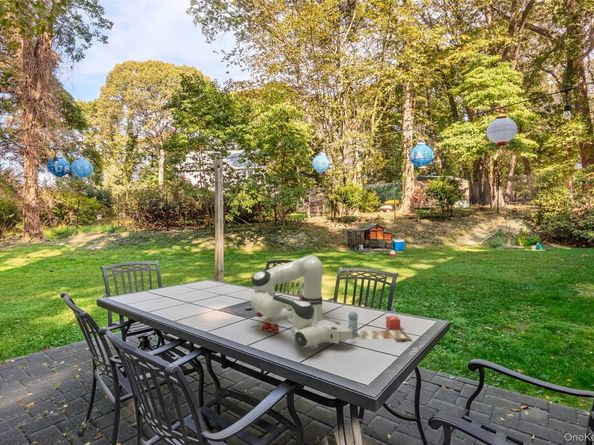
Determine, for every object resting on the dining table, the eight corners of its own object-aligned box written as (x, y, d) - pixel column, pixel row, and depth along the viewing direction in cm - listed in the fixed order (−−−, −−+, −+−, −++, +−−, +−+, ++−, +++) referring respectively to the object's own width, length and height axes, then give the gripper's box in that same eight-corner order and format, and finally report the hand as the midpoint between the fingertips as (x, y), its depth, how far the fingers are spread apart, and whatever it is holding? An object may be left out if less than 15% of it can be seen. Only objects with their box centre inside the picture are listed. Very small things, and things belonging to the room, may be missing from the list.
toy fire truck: (276, 333, 182) (276, 316, 182) (256, 329, 189) (256, 312, 189) (279, 331, 185) (279, 314, 185) (260, 327, 192) (259, 310, 192)
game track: (346, 343, 169) (346, 341, 169) (340, 333, 183) (340, 330, 183) (411, 341, 171) (411, 339, 171) (401, 331, 185) (401, 329, 185)
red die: (389, 330, 187) (389, 319, 186) (386, 326, 193) (386, 316, 192) (400, 330, 187) (400, 319, 187) (396, 326, 193) (396, 315, 193)
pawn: (348, 337, 173) (349, 313, 173) (346, 333, 179) (346, 310, 178) (359, 337, 174) (359, 313, 173) (356, 333, 179) (357, 309, 179)
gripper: (311, 331, 172) (331, 326, 180) (339, 345, 156) (359, 338, 164) (311, 319, 172) (331, 314, 180) (339, 331, 155) (359, 325, 164)
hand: (345, 325), depth 172 cm, fingers open, 8 cm apart
